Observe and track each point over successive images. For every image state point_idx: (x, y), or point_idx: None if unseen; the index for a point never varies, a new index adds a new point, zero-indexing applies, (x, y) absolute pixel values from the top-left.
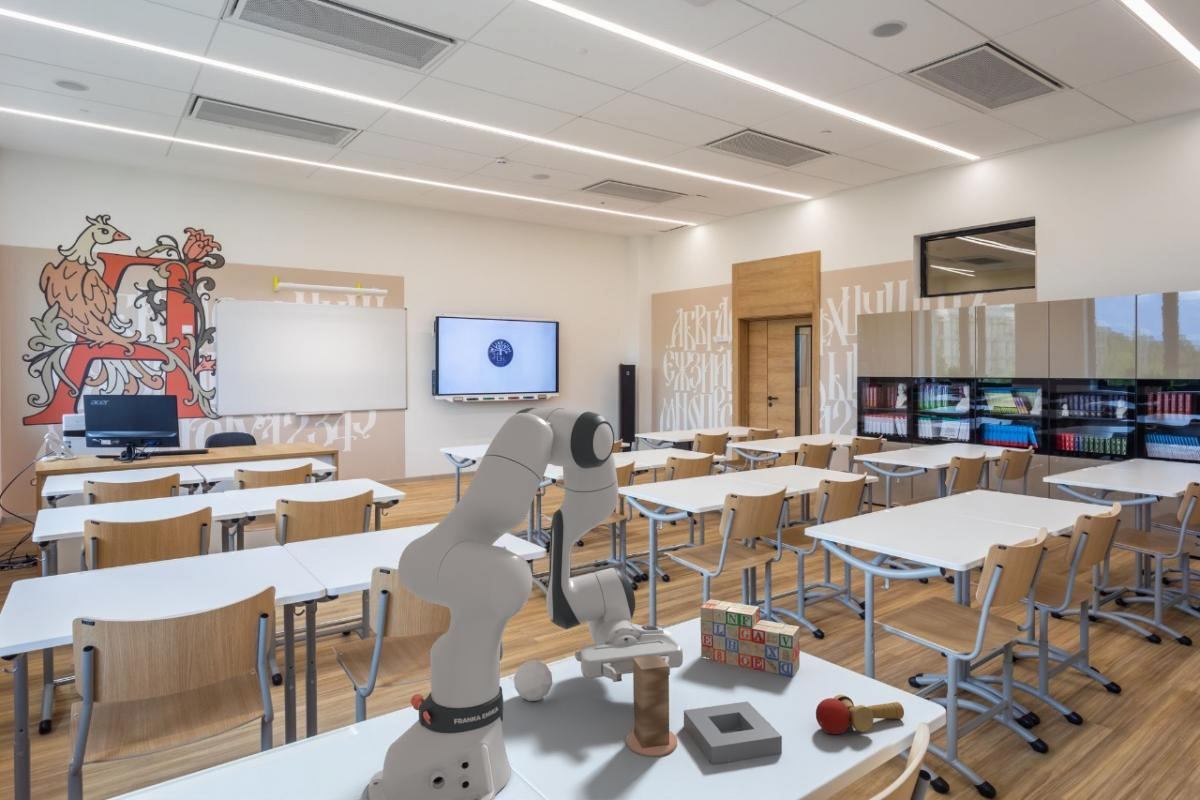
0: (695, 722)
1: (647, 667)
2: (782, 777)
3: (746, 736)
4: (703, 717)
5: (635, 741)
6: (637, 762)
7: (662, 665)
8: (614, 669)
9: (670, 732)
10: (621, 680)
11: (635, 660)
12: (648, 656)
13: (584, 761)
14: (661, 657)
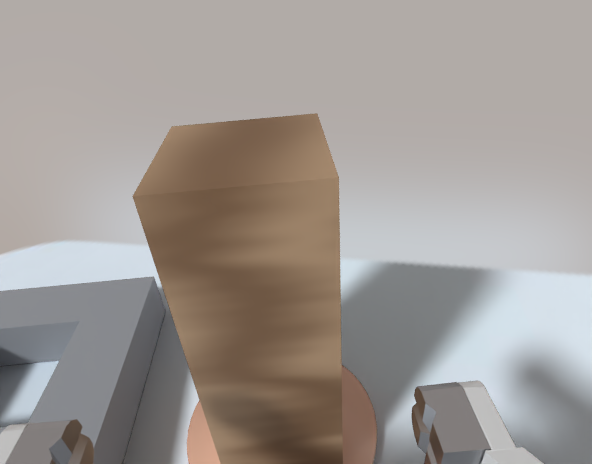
0: (104, 392)
1: (280, 122)
2: (61, 266)
3: (30, 303)
4: (48, 421)
5: (344, 416)
6: (351, 339)
7: (197, 129)
8: (487, 439)
9: (194, 457)
10: (413, 418)
11: (328, 158)
12: (220, 186)
13: (517, 361)
14: (144, 175)
